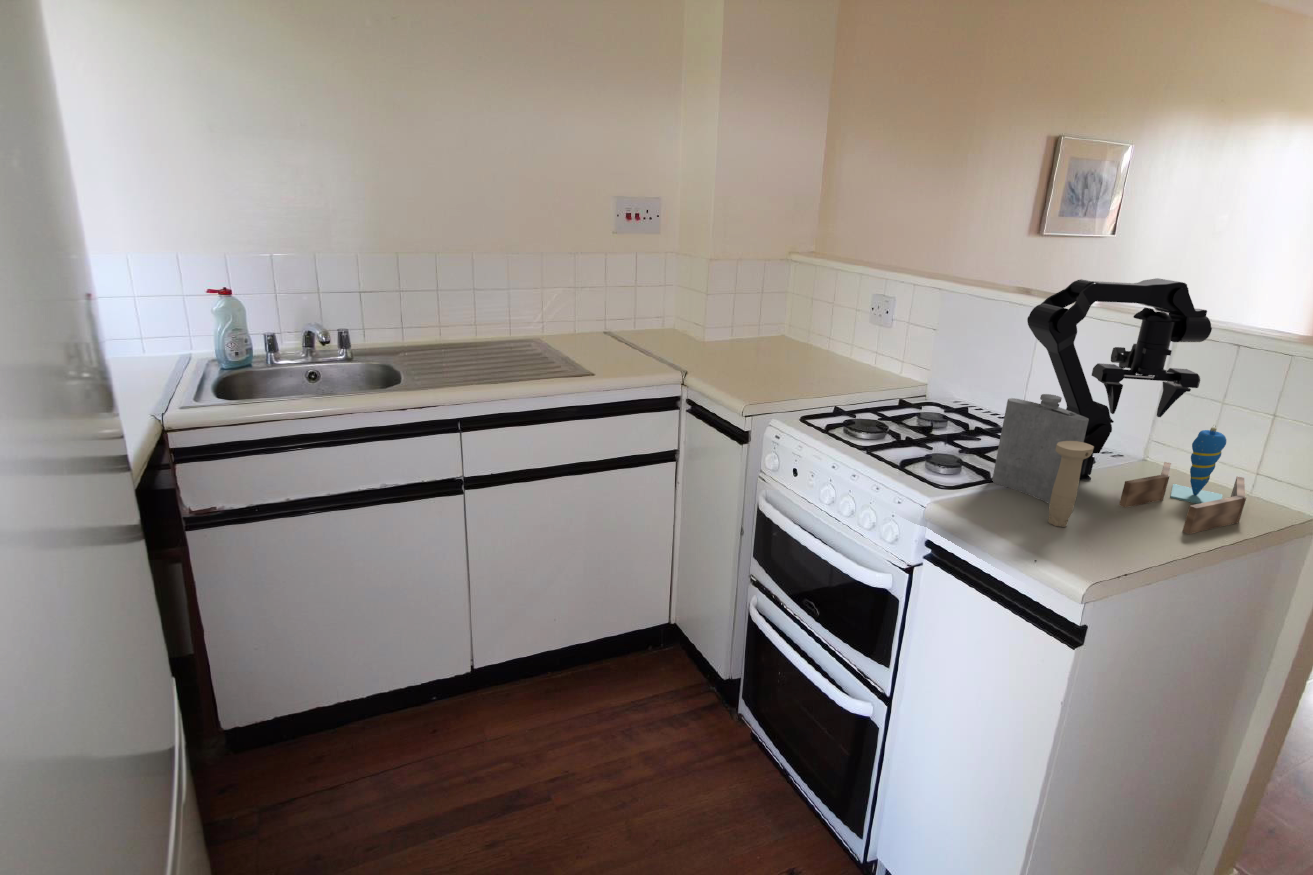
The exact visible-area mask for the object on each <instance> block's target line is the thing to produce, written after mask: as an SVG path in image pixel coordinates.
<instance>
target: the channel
mask: <svg viewBox="0 0 1313 875" xmlns="http://www.w3.org/2000/svg"><path fill="white" fill-rule="evenodd" d="M1171 465H1172V463H1171V462H1166V461H1164V462H1163V465H1162V469H1161V472H1160V473H1161V474H1158V475H1153V476H1147V477H1141V478H1135V479H1130V480H1129V479H1128V480H1125V481H1124V484H1123V488H1122V492H1121V496H1120V499H1119V504H1118V506H1120V507H1122V508H1124V509H1125V508H1129V507H1135V506H1139V505H1145V504H1149V503H1153V502H1155V503H1156V502H1159V501H1160V502H1162V501H1164V497H1165V495H1166V491H1167V488H1168V484H1169V480H1170V476H1169V474H1170V469H1171ZM1245 485H1246V484H1245V477H1242V476H1236V478H1235V481H1234V485H1233V488H1232V490H1231V495H1230V497H1224V498H1222V499H1219V500H1214V501H1210V502H1205V503H1200V504H1196V503H1194V504H1191V505H1189V507H1188V510H1187V514H1186V517H1185V520H1184V524H1183V528H1182V532H1183V533H1185V534H1188V535H1191V534H1195V533H1199V532H1203V531H1207V530H1208V531H1209V530H1212V529H1213V530H1214V529H1218V528H1221V527H1224V526H1225V527H1226V526H1228V525H1233V524H1234V525H1235V524H1238V523H1240V520H1241V516H1242V514H1243V510H1244V508H1245V504H1246V501H1247V497H1246V489H1245V488H1246V486H1245Z"/></svg>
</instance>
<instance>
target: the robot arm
mask: <svg viewBox="0 0 1313 875" xmlns="http://www.w3.org/2000/svg"><path fill="white" fill-rule="evenodd" d="M1095 302H1100V303H1101V302H1102V303H1119V304H1120V303H1122V304H1124V303H1125V304H1139V305H1142V306H1146V307H1144V308H1142V310H1140V311H1138V312H1136V313H1135V314H1134V315H1133V316H1132V318H1134V319H1136V320H1140V321H1141V324H1140V328H1139V332H1138V336H1137V340H1136V343H1133V345H1131V349H1130V350H1126V347H1124V346H1123V347H1122V346H1121V347H1119V346H1118V347H1117V346H1115V347H1113V348H1112V350H1111V353H1110V362H1111V363H1112V364H1111V363H1098V362H1097V364H1095V365H1094V366H1093V368H1092V370H1091V371H1092V372H1091V376H1092V377H1093V378H1095V379H1097V381H1098V382H1099V383H1100V382H1101V383H1102V385H1103V386H1104V388H1105V392H1106V395H1107V401H1108V405H1105V404H1102V403H1100V402H1097V401H1095V400H1094V398H1093V396H1092V393H1091V390H1090V387H1089V385H1088V381H1087V379H1086V375H1085V373H1084V370H1083V367H1082V363H1081V361H1080V357H1079V356H1078V352H1077V350H1076V346H1075V341H1076V337H1077V335H1078V326H1077V325H1078V324H1080V323H1081V322H1082V321H1083V320H1084V319H1085V318H1086V316H1087V315H1088V313H1089V310H1090V308H1091V306H1092V305H1093V304H1095ZM1070 305H1072V306H1070ZM1068 306H1070V307H1069V308H1066V307H1068ZM1149 307H1150V308H1149ZM1154 309H1155V310H1154ZM1207 313H1208V310H1207V309H1202V308H1196V307H1195V306H1194V303H1193V300H1192V298H1191V295H1190V292H1189V287H1188V284H1187V283H1186V282H1182V281H1177V280H1171V279H1164V278H1158V277H1157V278H1156V277H1155V278H1150V279H1144V280H1141V281H1139V282H1115V281H1113V282H1112V281H1097V280H1095V281H1094V280H1093V281H1092V280H1087V279H1082V278H1081V279H1077V280H1074V281H1072V282H1071V283H1070V284H1069V285H1068V286H1067V287H1065V288H1063V289H1062V290H1060V291H1058V292H1056V293H1054V294H1052V295H1051V296H1049V297H1047V298H1046V299H1045V300H1043V302H1041V303H1040V304H1038V305H1036V306H1034V307H1033V308H1032V310H1031V311H1030V314H1029V315H1028V317H1027V319H1026V320H1027V325H1028V328H1029V329H1030V331H1031V332H1032V335H1033V336H1034V337H1035V338H1036V340H1037V341H1038V342H1039V343H1040V344H1041V345H1042V346H1043V347H1044V348H1045V349H1046V351H1047V353H1048V356H1049V358H1050V362H1051V365H1052V367H1053V369H1054V370H1053V371H1054V373H1055V375H1056V379H1057V381H1058V385H1059V387H1060V389H1061V391H1062V392H1061V393H1062V395H1063V399H1064V401H1065V404H1066V408H1065V409H1066V410H1068V411H1071V412H1074V413H1076V414H1078V415H1081V416H1084V417H1087V418H1088V419H1089V421H1088V425H1087V430H1086V434H1085V438H1084V443H1087V444H1090V445H1092V446H1094V449H1093V453H1092V454H1091V456H1089V457H1088V458H1086V459H1083V462H1082V466H1081V472H1080V478H1079V480H1080V481H1081V480H1083V481H1092V477H1091V476H1090V475H1092V473H1093V467H1094V463H1095V459H1096V457H1095V456H1094V454H1100V453H1101V451H1102V449H1103V447H1104V446H1105V444H1106V443H1107V440H1109V439H1108V438H1109V437H1110V435H1111V433H1112V432H1113V425H1112V424H1113V423H1115V422H1114V420H1113V419H1112V417H1111V414H1112V415H1114V414H1115V412H1116V411H1117V408H1118V405H1119V401H1120V398H1121V394H1122V391H1123V388H1124V384H1123V383H1121V381H1123V380H1124V379H1126V380H1128V379H1129V380H1130V379H1131V380H1142V381H1143V380H1144V381H1145V380H1146V381H1161V382H1162V393H1161V396H1160V400H1159V403H1158V407H1157V409H1156V410H1157V411H1156V417H1157V418H1161V417H1163V415H1164V414H1165V413H1166V412H1167V411H1168V410H1169V408H1170V407H1172V406H1173V404H1174V403H1175V402H1176V401H1178V399H1179V398H1181V397H1182V396H1183V395H1184V394H1185V393H1186V392H1191V391H1192V389H1198V388H1199V386H1200V385H1201V384H1200V383H1201V376H1200V375H1199V374H1198V372H1195V371H1192V370H1190V369H1187V368H1179V367H1178V368H1175V367H1169V368H1168V370H1166V369H1165V366H1166V361H1167V358H1168V356H1171V354H1172V351H1173V350H1171V349H1170V345H1171V342H1172V343H1202V342H1205V341H1206V340H1207V339H1208V338H1209V337H1210V336H1211V332H1212V331H1213V327H1212V323H1211V320H1210V318H1209V317H1208V316H1207ZM1113 363H1114V364H1113ZM1116 364H1118V365H1116ZM1108 406H1109V407H1108Z"/></svg>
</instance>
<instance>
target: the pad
mask: <svg viewBox="0 0 1313 875" xmlns="http://www.w3.org/2000/svg"><path fill="white" fill-rule="evenodd" d="M1169 498H1170V499H1175V500H1179V501H1184V502H1187V503H1193V504H1200V503H1205V502H1210V501H1214V500H1219V499H1223V493H1218V492H1212V491H1208V490H1204V489H1202V490H1201V491H1200V492H1199V493H1198V495H1194V494H1193V491H1192V487H1191V486H1190V487H1189V486H1185V485H1179V484H1176V483H1175V484H1174V483H1173V484H1172V487H1171V492H1170V497H1169Z"/></svg>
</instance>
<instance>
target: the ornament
mask: <svg viewBox="0 0 1313 875" xmlns="http://www.w3.org/2000/svg"><path fill="white" fill-rule="evenodd" d="M1214 426H1215V427H1210V429H1205V430H1200V431H1199V432H1198V434H1197V437H1195V439H1194V440H1193V442H1192V444H1191V448H1192V453H1191V455H1190V461H1191V464H1192V465H1191V466H1190V469H1189V473H1190V474H1189V475H1190V488H1192V491H1193V494H1194V495H1198V493H1199V492H1200V491H1201V490H1204V488H1205V486H1206V485H1207V484H1208V483H1209V481H1210V478H1211V474H1212V473H1213V472H1214V470H1215V468H1216V463H1217V462H1218V461H1219V459H1220V458H1221V457H1222V451H1223V449H1224V448H1225V447H1226V445H1227V438H1226V436H1225V435H1224V433H1221V432H1219V431H1217V427H1216V425H1214Z"/></svg>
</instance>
